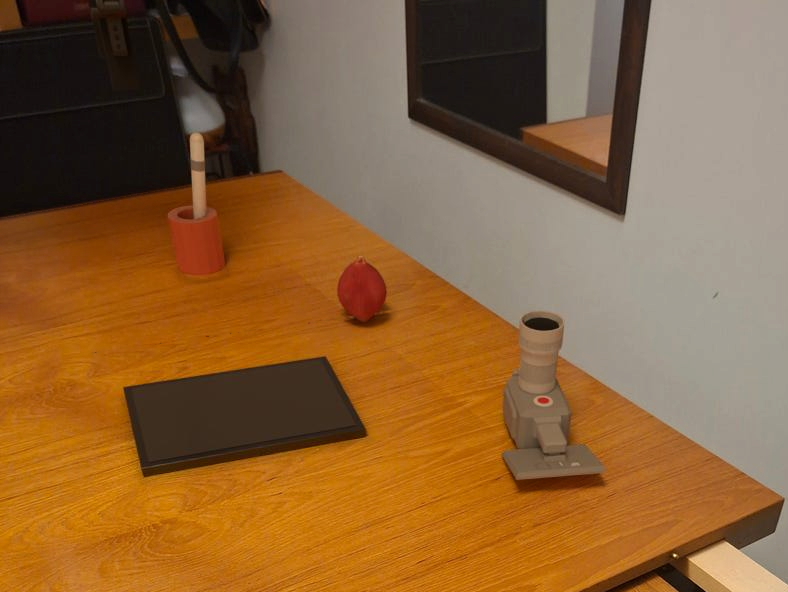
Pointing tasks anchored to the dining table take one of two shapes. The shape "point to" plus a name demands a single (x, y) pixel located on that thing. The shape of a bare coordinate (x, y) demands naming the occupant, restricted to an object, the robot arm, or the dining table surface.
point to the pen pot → (196, 241)
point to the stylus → (198, 175)
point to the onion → (361, 290)
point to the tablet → (239, 415)
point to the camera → (541, 407)
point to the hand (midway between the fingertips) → (119, 73)
